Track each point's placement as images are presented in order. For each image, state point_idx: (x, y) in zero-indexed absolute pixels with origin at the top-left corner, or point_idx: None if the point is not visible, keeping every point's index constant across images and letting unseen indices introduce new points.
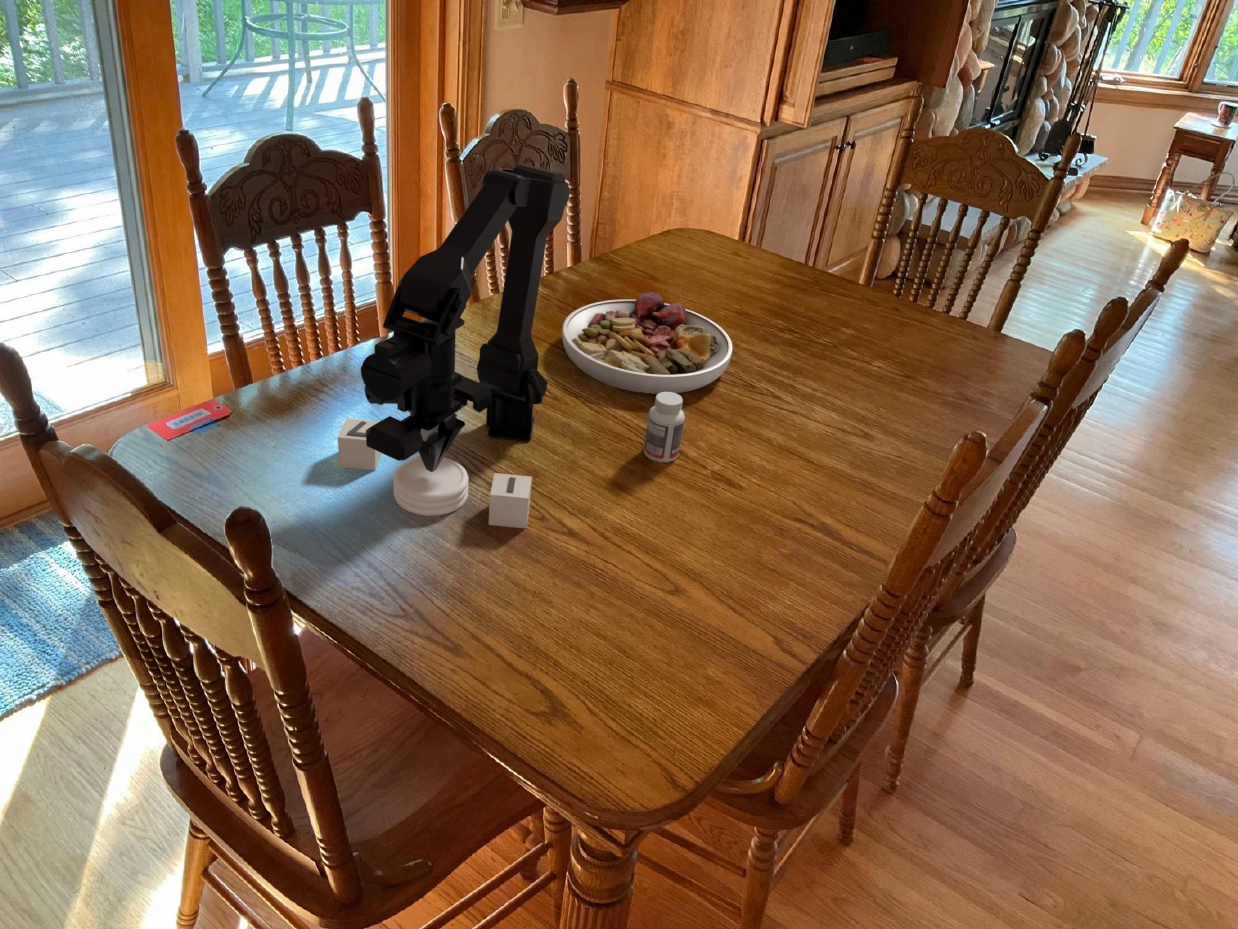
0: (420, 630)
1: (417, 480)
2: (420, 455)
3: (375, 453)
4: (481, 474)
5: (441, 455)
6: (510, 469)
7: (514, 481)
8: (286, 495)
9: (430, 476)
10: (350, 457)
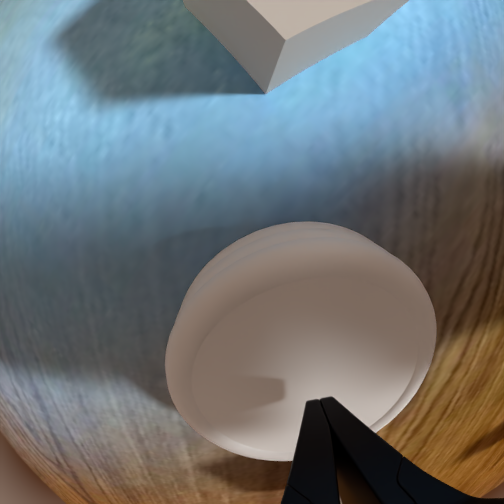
0: (67, 480)
1: (251, 381)
2: (292, 462)
3: (282, 67)
4: (446, 341)
5: (341, 500)
6: (479, 357)
7: None
8: (4, 69)
9: (307, 388)
10: (203, 9)
